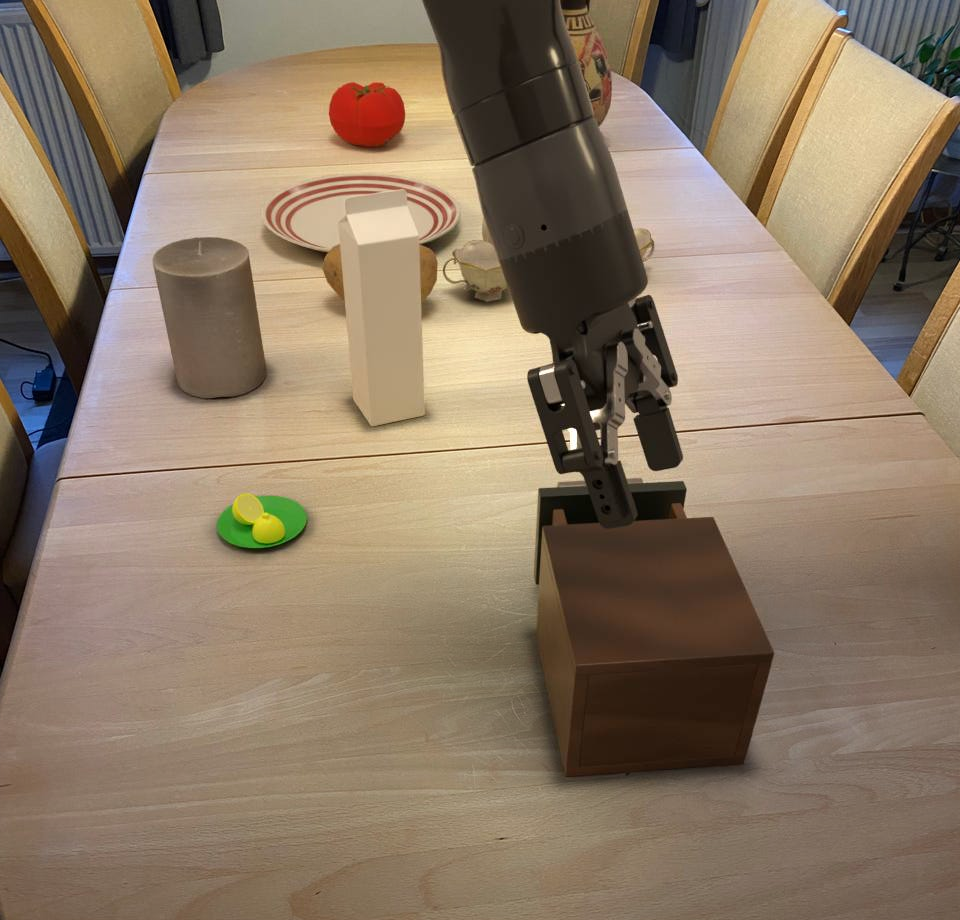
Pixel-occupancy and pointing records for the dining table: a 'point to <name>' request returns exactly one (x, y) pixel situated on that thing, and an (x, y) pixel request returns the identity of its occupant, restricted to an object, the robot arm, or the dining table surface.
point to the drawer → (577, 508)
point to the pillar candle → (211, 316)
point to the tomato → (366, 113)
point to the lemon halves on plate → (261, 521)
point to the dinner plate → (321, 205)
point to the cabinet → (648, 646)
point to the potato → (427, 271)
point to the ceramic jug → (589, 55)
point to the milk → (383, 306)
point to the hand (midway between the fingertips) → (645, 494)
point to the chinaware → (486, 270)
